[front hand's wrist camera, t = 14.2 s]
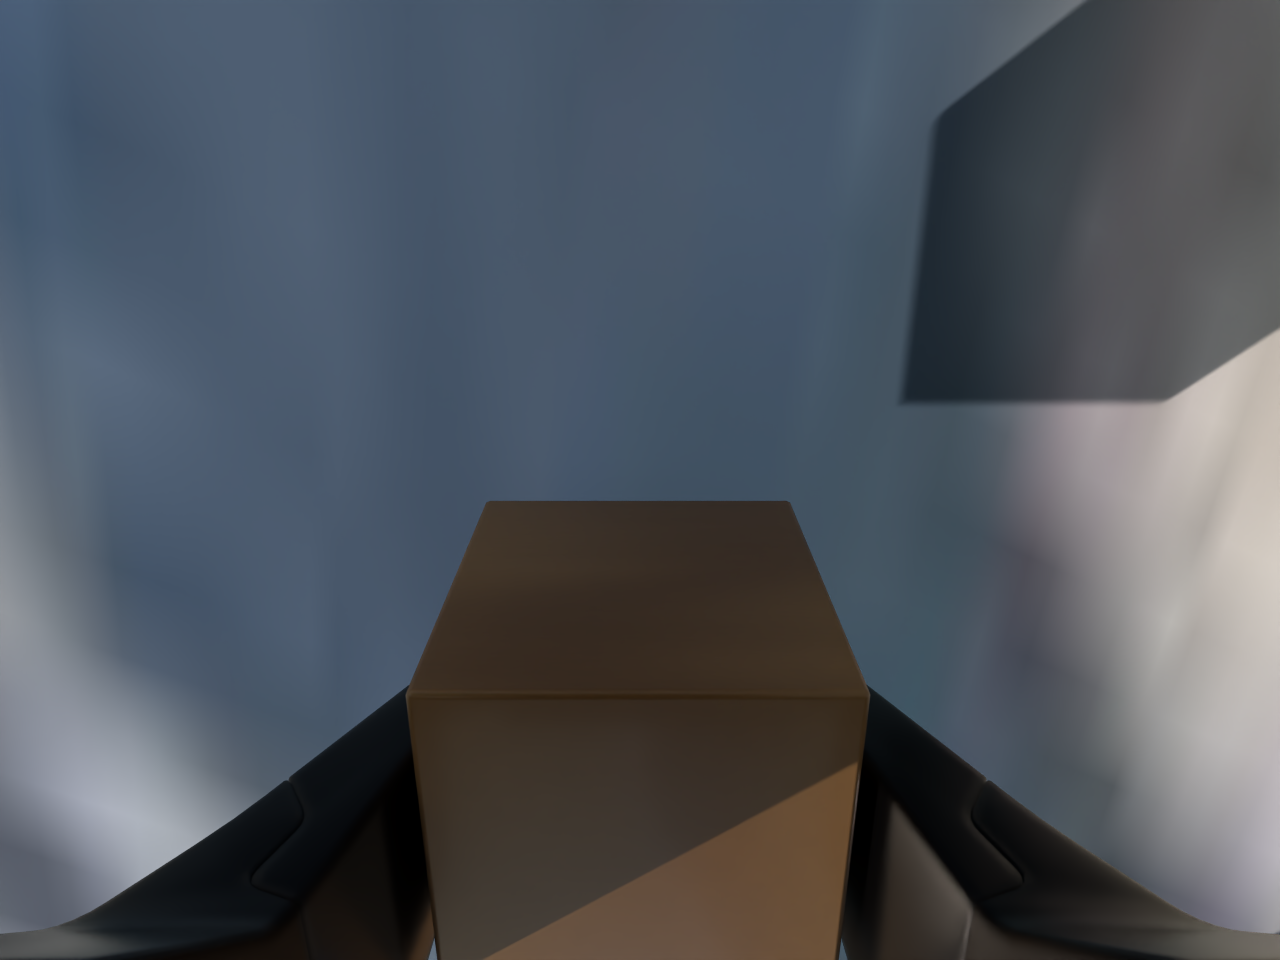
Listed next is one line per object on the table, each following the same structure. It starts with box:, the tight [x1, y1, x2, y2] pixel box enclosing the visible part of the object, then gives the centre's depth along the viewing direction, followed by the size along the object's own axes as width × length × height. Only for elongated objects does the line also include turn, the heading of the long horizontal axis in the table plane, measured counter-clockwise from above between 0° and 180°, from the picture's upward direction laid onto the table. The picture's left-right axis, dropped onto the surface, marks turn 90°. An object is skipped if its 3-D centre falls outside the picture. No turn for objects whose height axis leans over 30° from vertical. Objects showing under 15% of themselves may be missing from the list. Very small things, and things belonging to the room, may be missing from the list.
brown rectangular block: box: [406, 501, 870, 960], centre depth 11 cm, size 4×4×5 cm
